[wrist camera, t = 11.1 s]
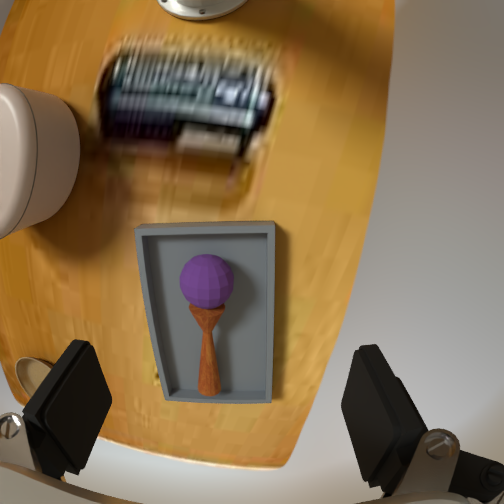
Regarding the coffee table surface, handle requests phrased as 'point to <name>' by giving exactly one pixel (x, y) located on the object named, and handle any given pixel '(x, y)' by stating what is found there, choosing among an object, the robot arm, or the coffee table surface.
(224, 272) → the kendama
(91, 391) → the robot arm
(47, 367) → the plant saucer
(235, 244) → the tray
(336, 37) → the coffee table surface
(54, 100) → the container
